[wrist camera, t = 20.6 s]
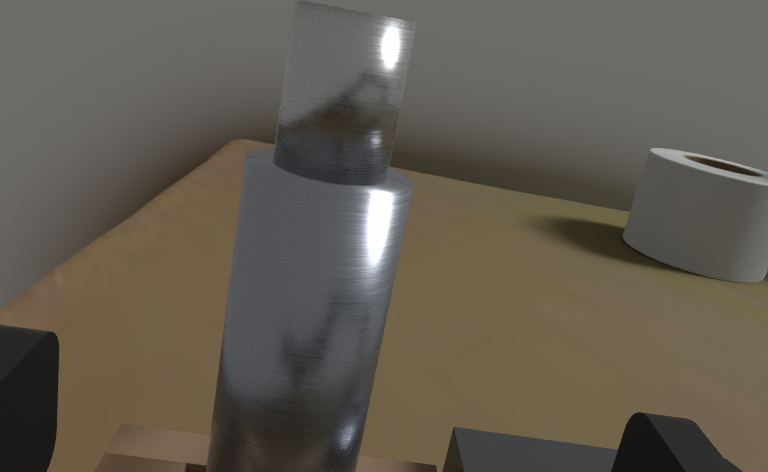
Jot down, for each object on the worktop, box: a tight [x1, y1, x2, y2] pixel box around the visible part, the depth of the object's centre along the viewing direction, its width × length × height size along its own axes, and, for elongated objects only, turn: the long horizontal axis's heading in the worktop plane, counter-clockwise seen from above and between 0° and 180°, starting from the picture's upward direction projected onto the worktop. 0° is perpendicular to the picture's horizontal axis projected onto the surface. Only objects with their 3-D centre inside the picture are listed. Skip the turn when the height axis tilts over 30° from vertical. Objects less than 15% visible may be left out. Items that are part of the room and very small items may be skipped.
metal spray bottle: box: [206, 0, 416, 472], centre depth 20 cm, size 4×4×18 cm
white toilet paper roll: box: [623, 148, 768, 283], centre depth 78 cm, size 16×15×11 cm
